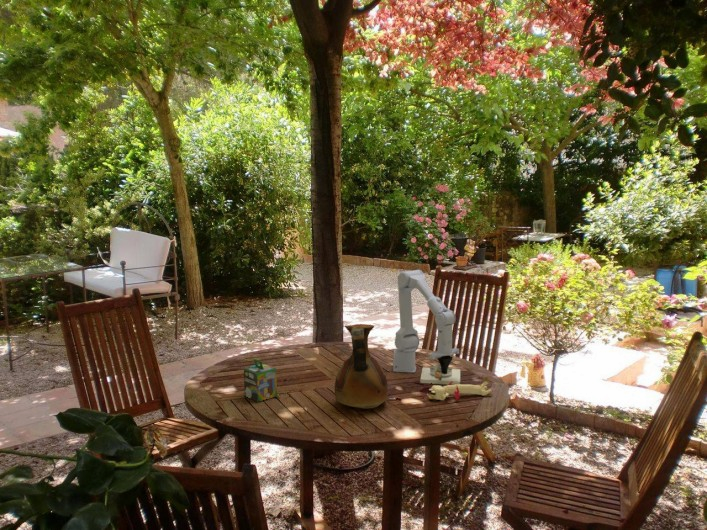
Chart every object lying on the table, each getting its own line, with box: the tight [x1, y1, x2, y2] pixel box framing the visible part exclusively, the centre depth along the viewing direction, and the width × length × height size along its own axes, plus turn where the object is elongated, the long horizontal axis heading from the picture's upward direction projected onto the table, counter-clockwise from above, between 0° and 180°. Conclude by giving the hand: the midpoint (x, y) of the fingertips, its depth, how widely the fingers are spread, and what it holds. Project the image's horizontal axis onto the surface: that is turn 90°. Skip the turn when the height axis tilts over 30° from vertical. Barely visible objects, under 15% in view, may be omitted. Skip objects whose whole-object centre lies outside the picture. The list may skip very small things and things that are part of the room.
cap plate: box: [419, 366, 461, 385], centre depth 253 cm, size 16×16×2 cm
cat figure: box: [426, 375, 493, 401], centre depth 230 cm, size 10×9×25 cm
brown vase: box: [334, 323, 389, 409], centre depth 221 cm, size 20×20×30 cm
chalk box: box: [243, 358, 278, 403], centre depth 229 cm, size 9×9×15 cm
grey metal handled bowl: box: [429, 364, 453, 379], centre depth 248 cm, size 18×9×5 cm, turn 166°
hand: (444, 373), depth 244 cm, fingers closed, pressing on grey metal handled bowl
